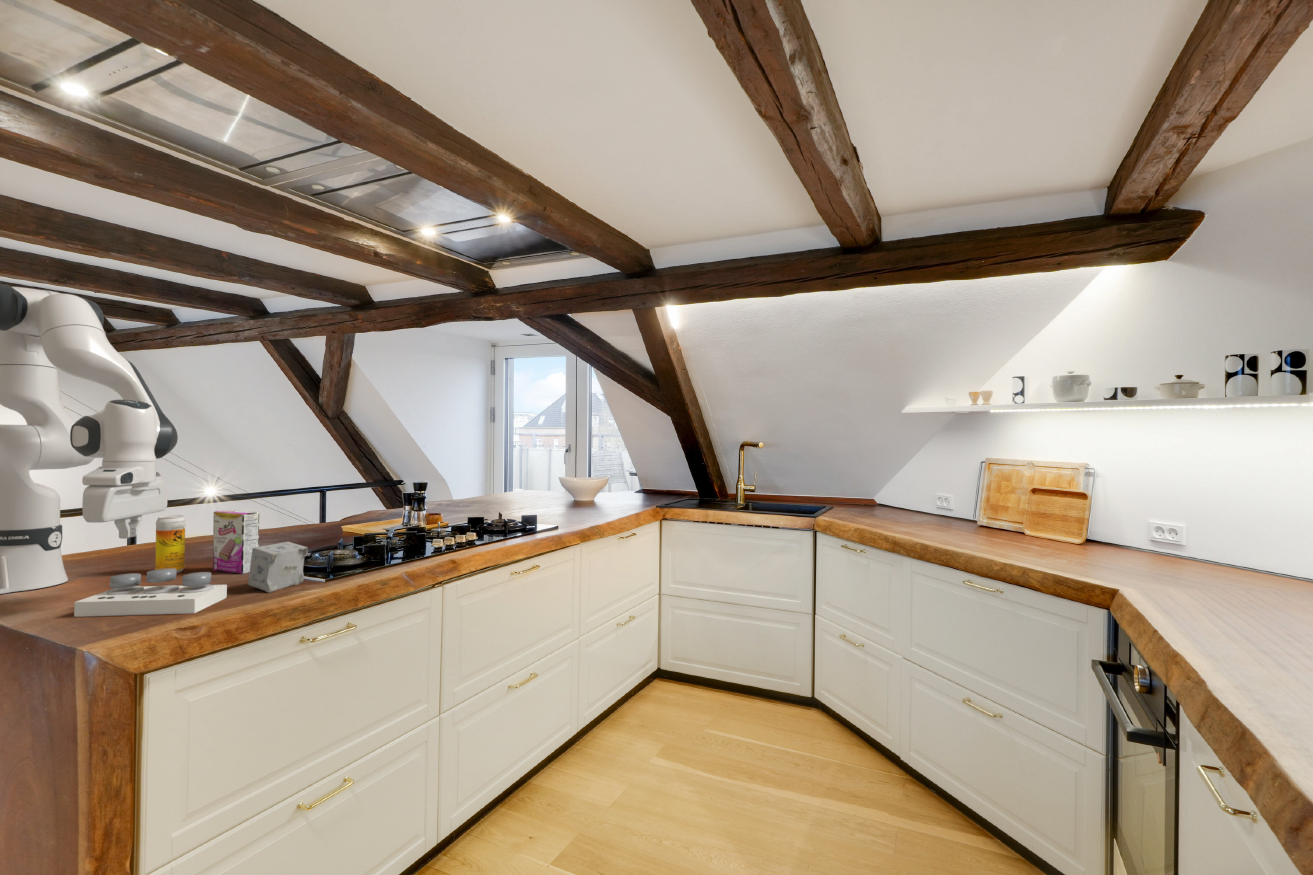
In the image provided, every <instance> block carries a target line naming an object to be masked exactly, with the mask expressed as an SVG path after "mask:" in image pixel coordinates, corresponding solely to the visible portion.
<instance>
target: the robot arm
mask: <svg viewBox="0 0 1313 875" xmlns="http://www.w3.org/2000/svg"><path fill="white" fill-rule="evenodd" d="M104 322H105V318H104V312H103V310H102V309H101V307H100V306H99V304H97V303H96V302H94V301H92V300H89V299H87V298H84V297H80V296H78V295H76V294H75V295H74V294H71V293H62V292H61V293H60V292H58V291H54V290H53V291H52V290H48V289H37V288H29V287H20V286H11V285H9V284H4V283H3V284H1V283H0V406H2V407H4V408H6V409H9V410H12V411H15V412H17V413H19V414H20V416H22V418H23V419H24V420H25V422H26V424H0V595H1V594H2V595H3V594H7V593H13V592H21V591H22V592H24V591H31V590H36V589H42V588H48V587H53V586H56V585H60V584H64V583H66V582H68V581H69V578H68V575H67V573H66V570H65V566H64V561H63V556H62V549H61V546H62V542H63V525H62V524H61V497H60V494H59V493H58V492H57V491H56V490H55V489H53V488H51V487H48V486H46V485H44V484H40V483H37V482H35V481H33V479H32V478H31V475H30V471H32V470H34V471H35V470H37V471H38V470H64V469H70V468H77V467H81V466H86V465H89V464H90V463H92V462H93V461H94V460H95V459H96V458H97V459H99V458H100V459H101V458H102V459H101V466H98V467H97V468H96V469H94V470H92V471H90V472H88V473H85V474H84V475H83V476H82V485H84V486H86V487H85V488H84V490H83V492H82V507H81V508H82V510H81V511H82V517H83V519H84V520H85V522H86V523H94V524H97V523H98V524H99V523H100V524H101V523H108V522H113V521H114V525H115V527H116V529H117V530H118V538H119V539H124V540H125V539H129V538H134V537H137V536H138V531H139V527H140V526H141V523H142V521H143V515H149V514H154V513H160V512H164V511H166V509H167V507H168V492H167V485H166V482H165V481H164V479H163V478H164V477H163V476H162V474H160V472H158V471H157V460H158V459H161V458H163V457H166V455H169V453H171V452H172V451H173V450H174V448H175V447H176V445H177V444H178V438H179V436H178V431H177V429H176V427H175V425H174V423H172V422H171V420H170V419H169V418H168V417H167V416H166V415H165V414H164V412H163V410H162V409H161V407H160V406H159V404H158V402H157V400H156V399H155V397H154V395H153V393H152V392H151V390H150V388H149V386H148V384H147V382H146V381H145V380H144V378H143V377H142V375H141V373H140V372H139V369H138V368H137V367H136V366H135V364H133V362H131V361H130V360H128V359H127V358H125V357H123V356H122V355H121V354H120V353H119V351H117V350H116V349H115V347H114V346H113V345H112V344H111V343H110V341H109V340H108V338H107V336H106V331H105V330H104ZM59 371H61V372H63V373H65V374H68V375H70V376H73V377H77V378H80V379H84V380H87V381H91V382H93V383H96V384H100V385H102V386H105V387H107V388H109V389H111V390H113V391H114V392H116V393H117V394H118V395H119V396H120V398H121V399H113V400H109V401H107V402H106V404H105V406H104V408H103V409H102V410H99V411H98V412H96V413H93V414H90V415H84V416H82V417H80V418H78V420H75V419H74V418H73V417H72V416H71V415H70V414H69V413H68V411H67V410H66V408H65V406H64V403H63V401H62V398H61V392H60V385H59Z"/></svg>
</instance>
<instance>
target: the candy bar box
mask: <svg viewBox="0 0 1313 875" xmlns="http://www.w3.org/2000/svg"><path fill="white" fill-rule="evenodd" d="M212 523H213V525H212V526H213V529H212V530H213V535H212V536H213V537H212V538H213V540H212V541H213V544H212V545H213V546H212V547H213V548H212V550H213V551H212V552H213V553H212V571H215V572H222V573H223V572H224V573H232V574H241V575H244V574H245V575H246V574H249V573H250V564H251V556H252V549H253V548H254V547H260V512H259V511H249V510H239V509H221V510H215V511H213V522H212Z"/></svg>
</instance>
